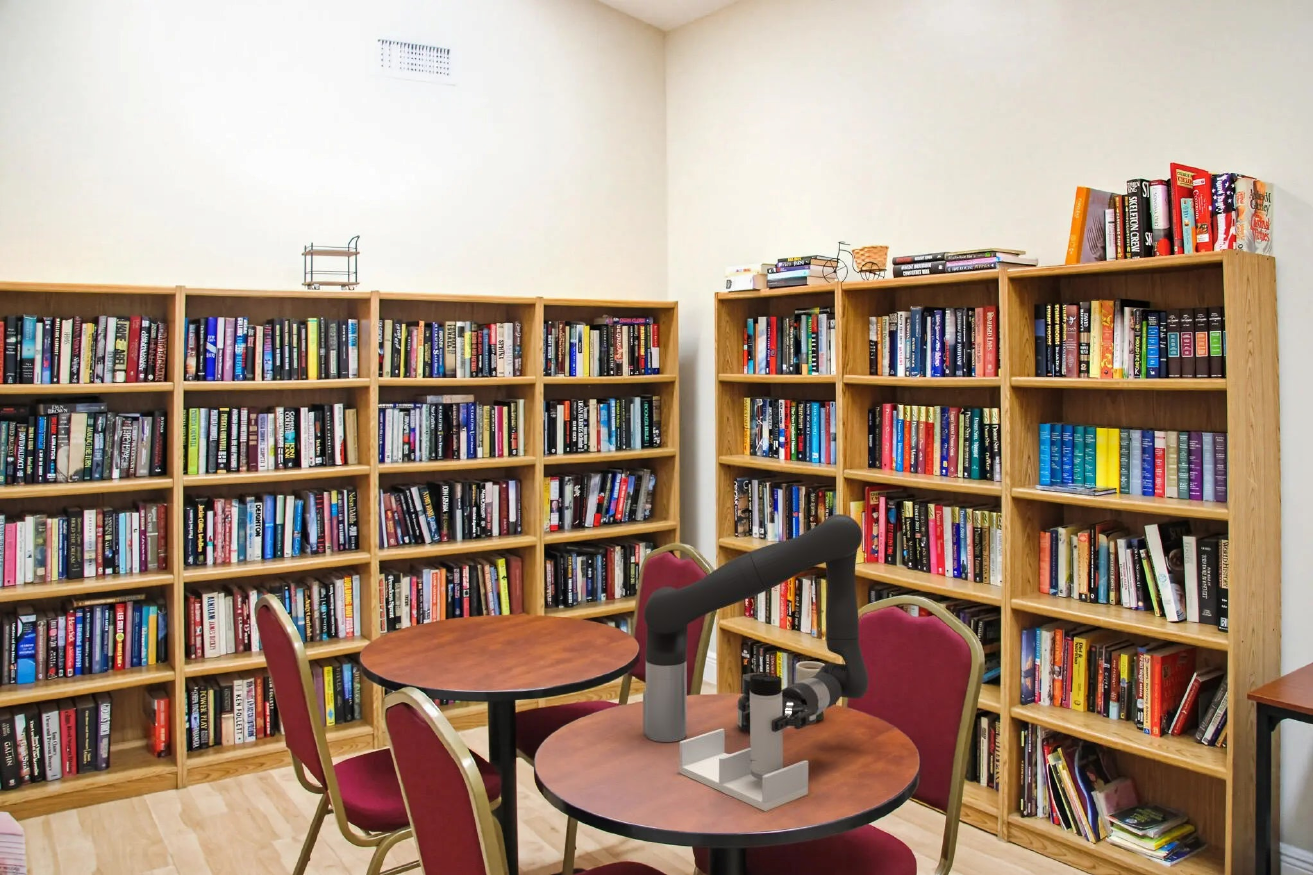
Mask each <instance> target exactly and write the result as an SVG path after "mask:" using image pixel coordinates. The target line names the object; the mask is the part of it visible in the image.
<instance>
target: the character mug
mask: <svg viewBox="0 0 1313 875" xmlns="http://www.w3.org/2000/svg"><path fill="white" fill-rule="evenodd" d="M795 664H796V665H795V683H797V682H799V681H802V680H805V679H809V678H811V677H813V676H815V675H816V674H817V672H818V671H819V670H820V669H821V667H822V666H824V665H826V664H825V663H822V662H819V661H808V660H807V661H800V662H796V663H795ZM824 714H825V713H824V710H823V711H822V712H821V713H820V714H818V715H816V721H821V720H822V721H823V719H825V717H824Z"/></svg>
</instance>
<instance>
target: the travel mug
mask: <svg viewBox="0 0 1313 875" xmlns="http://www.w3.org/2000/svg"><path fill="white" fill-rule="evenodd" d="M769 675H770V674H767V673H762V674H753V675H750V733H749V735H750V736H749V741H750V744H749V745H750V747H749V748H750V751H751V775H752V776H753V777H754V778H756V779H759V780H762V776H764V775H766V774H769V773H772V772H775V771H777V770H780V769H783V768H784V767H783V766H784V755H783V754H784V752H783V751H784V744H783V741H784V737H783V736H784V735H783V734H784V733H783V730H784V729H782V730H779V731H777V732H773V731H772V721H773V720H774V719H776V718H778V717H780V716H782V690H783V688H782V687H783V683H782V682H783V681H782V680H783V678H782V677H781V676H779V675H775V676H774V675H770V676H769Z"/></svg>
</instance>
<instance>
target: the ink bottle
mask: <svg viewBox="0 0 1313 875" xmlns="http://www.w3.org/2000/svg"><path fill="white" fill-rule="evenodd" d="M753 674H763V673H761V672H750V673H746V674H744V675H742V676H741V677H742V681H741V682H742V687H741V691H742V695H741V696H740V697H739V698H738V699H737V717H736V718H737V729H738V730H740V731H742V732H744V733H748V734H750V723H748V724H743V723H742V713H743V712H745V711H746V703H748V702H749V701H750V675H753ZM768 675H769V676H771V674H768Z"/></svg>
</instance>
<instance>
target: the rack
mask: <svg viewBox="0 0 1313 875" xmlns="http://www.w3.org/2000/svg"><path fill="white" fill-rule="evenodd" d="M679 774H681V775H684V776H685V777H688V778H690V779H693V780H694V781H697V782H699V783H701V784H703V785H705V786H708V787H710V788H712V789H715V790H717V791H719V792H722V793H723V794H726V795H727V796H730V797H732V798H735V799H737V800H739V801H741V802H743V803H746V804H748V805H750V806H752V807H755V808H757V809H759V810H762V811H764V812H767V811H770V810H772V809H775V808H777V807H779V806H782V805H784V804H787V803H790V802H792V801H795V800H797V799H799V798H802V797H804V796H807V795H809V761H808V760H806V759H804V760H802V761H799V762H796V763H793V764H791V765H789V766H786V767H783V769H780V770H777V771H775V772H772V773H769V774H766V775H764V776H762V780H759V779H756V778H754V777H753V776H752V775H751V751H750V747H747V748H745V749H742V750H739V751H735V752H733V753H730V754H729V753H726V752H725V729H724V728H719V729H716V730H713V731H709V732H706V733H703V734H700V735H697V736H694V737H691V738H688V739H685V740H684V739H683V740H680V741H679Z"/></svg>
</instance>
